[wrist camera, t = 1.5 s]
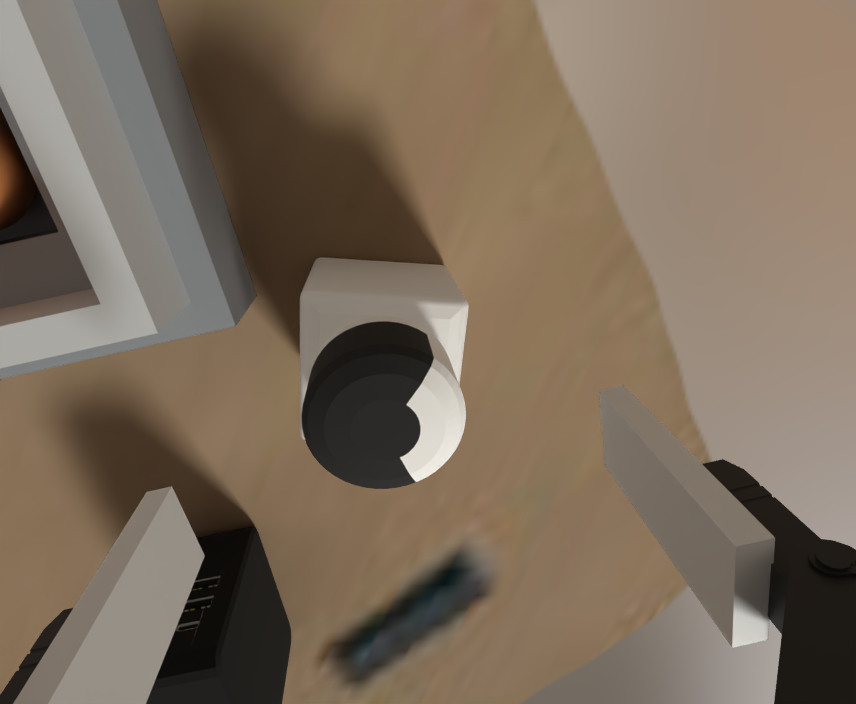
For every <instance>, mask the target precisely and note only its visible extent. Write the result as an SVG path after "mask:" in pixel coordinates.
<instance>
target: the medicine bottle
mask: <svg viewBox="0 0 856 704" xmlns="http://www.w3.org/2000/svg"><path fill="white" fill-rule="evenodd" d="M468 308H469V306H468V302H467V300H466V298H465V297H464V295H463V293H462V292H461V290H460V289H459V287H458V285H457V284H456V282H455V280H454V279H453V277H452V275H451V274H450V272H449V270H448V269H447V268H446V266H443V265H435V264H419V263H403V262H387V261H371V260H355V259H340V258H324V257H320V258H317V259H316V260H315V262H314V264H313V266H312V269H311V271H310V274H309V276H308V278H307V281H306V283H305V285H304V288H303V290H302V293H301V296H300V434H301V437H302V438H303V439H304V440H306V443H307V446H308V447H309V449H310V451H311V453H312V454H313V456H314V457H315V458H316V460H317V461H318V462H319V463H320V464H321V465H322V466H323V467H324V468H325V469H326V470H327V471H329V472H330V473H332V474H333V475H334V476H336V477H338V478H340V479H342V480H343V481H346V482H348V483H351V484H354V485H357V486H361V487H366V488H374V489H388V488H397V487H401V486H406V485H409V484H412V483H415V482H418V481H420V480H422V479H424V478H426V477H428V476H429V475H431V474H432V473H434V472H435V471H436V470H438V469H439V468H440V467H441V466H442V465H444V463H445V462H446V461H447V460H448V459H449V458H450V457H451V455H452V454H453V453H454V451H455V450H456V448H457V446H458V444H459V442H460V440H461V437H462V434H463V431H464V427H465V421H466V409H465V402H464V398H463V395H462V391H461V389H460V386H459V384H460V375H461V367H462V358H463V350H464V341H465V333H466V324H467V316H468Z"/></svg>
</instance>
